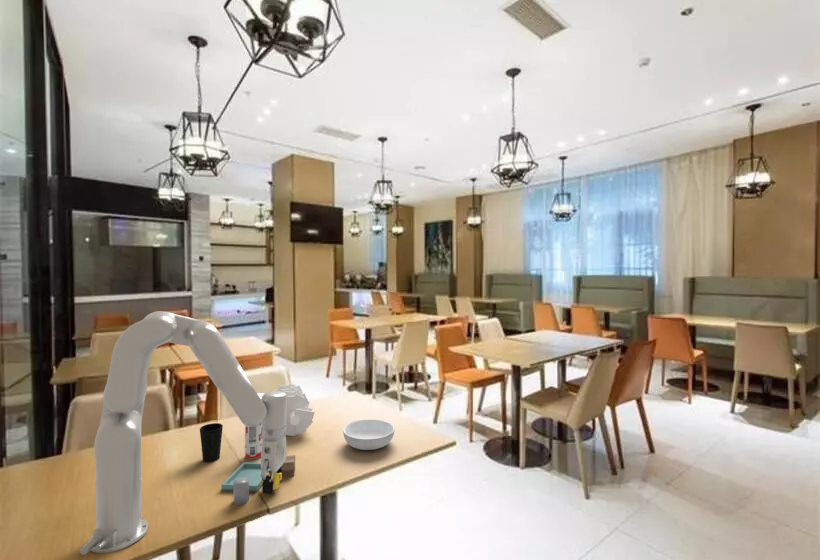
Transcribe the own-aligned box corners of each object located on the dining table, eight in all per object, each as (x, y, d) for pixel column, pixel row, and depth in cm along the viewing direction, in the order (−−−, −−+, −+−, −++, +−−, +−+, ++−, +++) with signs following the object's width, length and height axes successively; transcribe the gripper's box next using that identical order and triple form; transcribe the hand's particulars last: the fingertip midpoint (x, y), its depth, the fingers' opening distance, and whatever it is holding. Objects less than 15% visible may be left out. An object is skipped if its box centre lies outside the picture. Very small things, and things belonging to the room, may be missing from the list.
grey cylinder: (244, 505, 117) (244, 485, 116) (230, 504, 117) (230, 484, 117) (251, 496, 121) (251, 477, 121) (237, 496, 121) (237, 477, 121)
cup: (213, 464, 141) (213, 432, 140) (194, 462, 142) (194, 430, 142) (227, 455, 148) (227, 424, 148) (209, 453, 150) (209, 422, 149)
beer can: (243, 461, 143) (244, 418, 143) (246, 453, 149) (246, 412, 149) (262, 459, 145) (262, 416, 145) (263, 451, 151) (263, 411, 151)
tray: (257, 492, 123) (257, 485, 123) (221, 490, 124) (221, 484, 124) (275, 468, 138) (275, 463, 138) (243, 467, 139) (243, 462, 139)
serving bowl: (401, 451, 152) (401, 434, 152) (349, 460, 145) (349, 442, 144) (385, 431, 172) (385, 416, 171) (338, 438, 164) (338, 422, 164)
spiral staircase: (283, 450, 162) (276, 425, 184) (322, 426, 168) (310, 405, 190) (263, 414, 157) (259, 393, 180) (304, 391, 163) (294, 374, 186)
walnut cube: (294, 476, 133) (294, 461, 133) (278, 477, 132) (278, 463, 132) (295, 468, 138) (295, 455, 138) (280, 470, 137) (280, 456, 137)
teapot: (285, 491, 123) (286, 475, 123) (267, 497, 119) (267, 480, 119) (277, 480, 129) (278, 464, 129) (259, 485, 126) (260, 469, 126)
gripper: (274, 443, 115) (272, 503, 115) (294, 421, 132) (293, 474, 132) (249, 442, 115) (248, 502, 116) (273, 420, 133) (271, 473, 133)
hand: (272, 486), depth 124 cm, fingers closed on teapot, 6 cm apart
